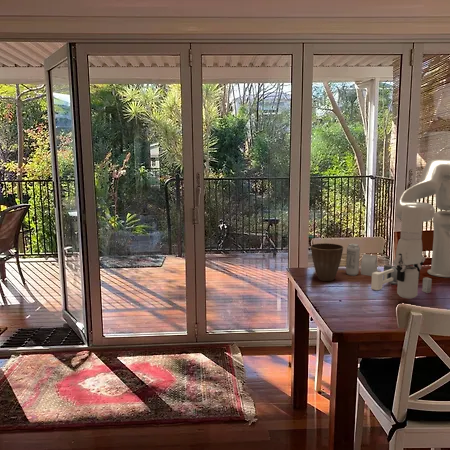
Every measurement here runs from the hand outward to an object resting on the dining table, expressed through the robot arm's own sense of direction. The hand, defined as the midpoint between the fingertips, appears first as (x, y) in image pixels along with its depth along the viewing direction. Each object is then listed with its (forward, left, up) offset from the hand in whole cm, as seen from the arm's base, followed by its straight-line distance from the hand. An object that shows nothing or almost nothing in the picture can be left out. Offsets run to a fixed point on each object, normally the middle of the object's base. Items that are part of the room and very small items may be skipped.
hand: (408, 279), depth 171 cm
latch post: (-19, -7, -10) cm, 22 cm away
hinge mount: (-16, -23, -10) cm, 30 cm away
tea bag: (-16, -38, -10) cm, 42 cm away
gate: (-9, -20, -9) cm, 24 cm away
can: (0, 0, -7) cm, 7 cm away
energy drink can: (-9, -42, -10) cm, 44 cm away
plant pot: (+8, -41, -10) cm, 43 cm away
